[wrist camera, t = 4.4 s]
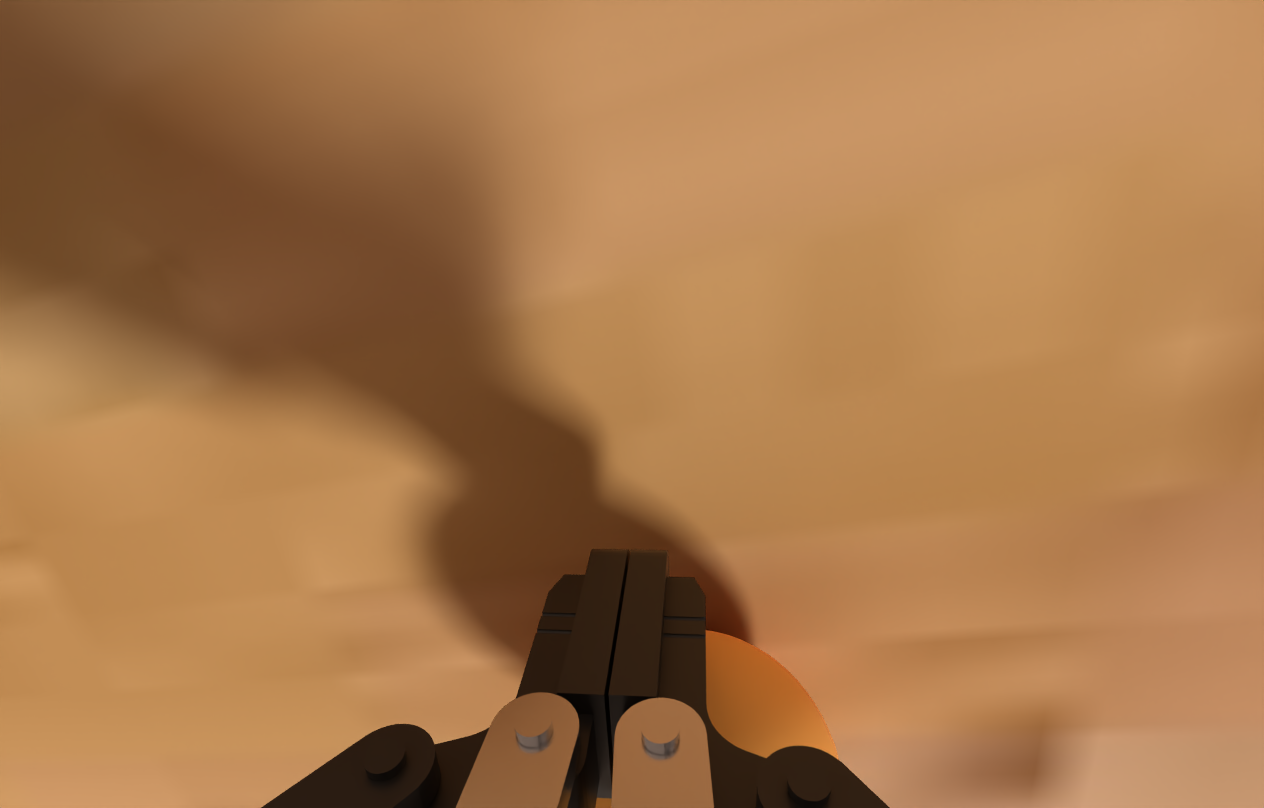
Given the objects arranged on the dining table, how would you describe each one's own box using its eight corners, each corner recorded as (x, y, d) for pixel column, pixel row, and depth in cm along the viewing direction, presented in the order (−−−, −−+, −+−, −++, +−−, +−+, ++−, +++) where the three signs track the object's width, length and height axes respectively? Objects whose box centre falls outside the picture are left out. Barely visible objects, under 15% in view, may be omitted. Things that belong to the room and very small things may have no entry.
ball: (554, 570, 15) (481, 857, 10) (825, 568, 15) (897, 876, 9) (586, 734, 18) (543, 1020, 13) (813, 739, 17) (862, 1044, 12)
